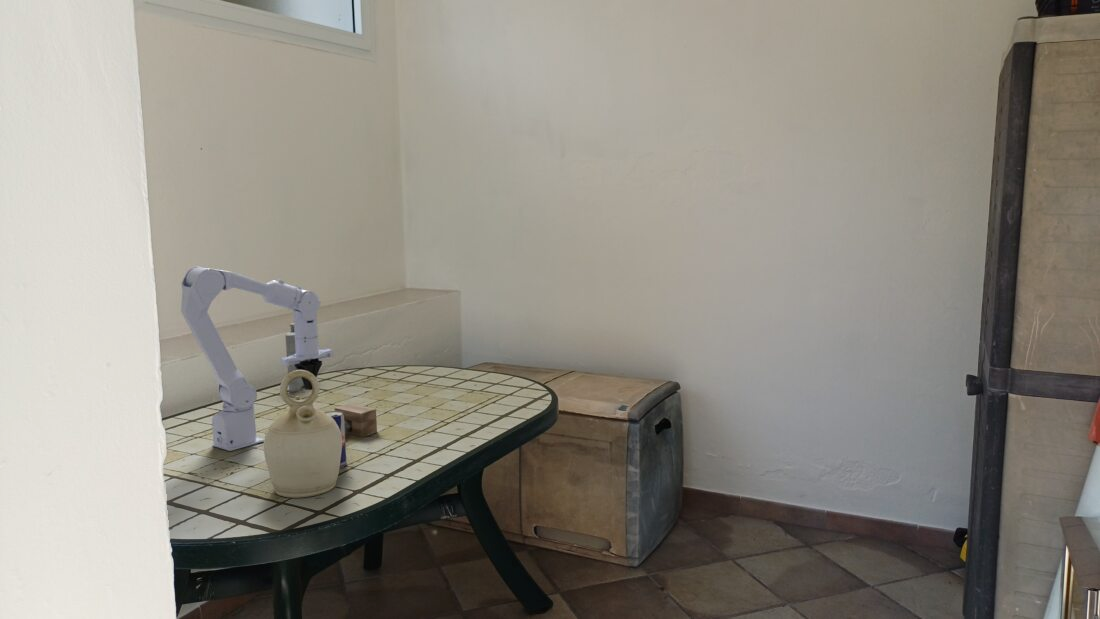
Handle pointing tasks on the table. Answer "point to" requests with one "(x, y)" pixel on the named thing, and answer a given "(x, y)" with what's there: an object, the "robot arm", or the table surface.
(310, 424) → the jug
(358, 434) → the socket block
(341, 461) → the energy drink
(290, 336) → the hip flask
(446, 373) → the table surface
